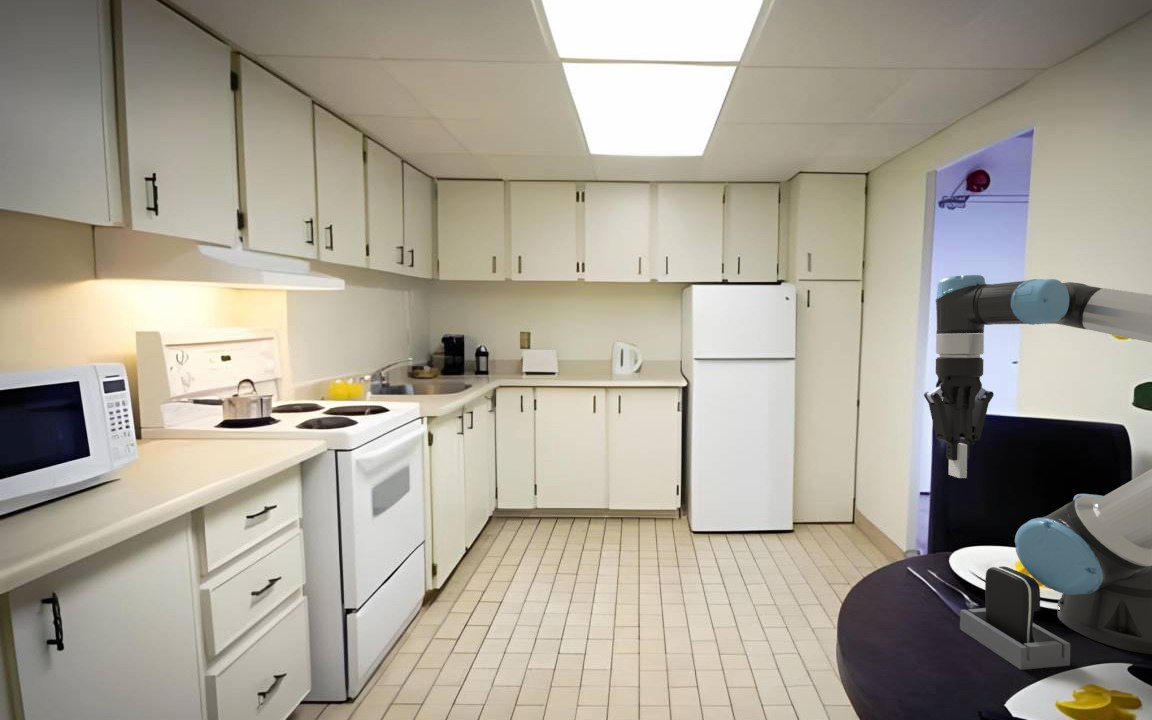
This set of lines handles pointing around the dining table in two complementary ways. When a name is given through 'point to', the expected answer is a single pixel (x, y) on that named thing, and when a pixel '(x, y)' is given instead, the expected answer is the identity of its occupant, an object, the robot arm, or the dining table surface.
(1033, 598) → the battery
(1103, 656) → the dining table surface
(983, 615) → the tray
